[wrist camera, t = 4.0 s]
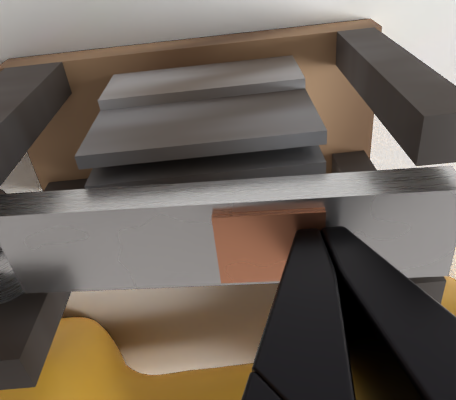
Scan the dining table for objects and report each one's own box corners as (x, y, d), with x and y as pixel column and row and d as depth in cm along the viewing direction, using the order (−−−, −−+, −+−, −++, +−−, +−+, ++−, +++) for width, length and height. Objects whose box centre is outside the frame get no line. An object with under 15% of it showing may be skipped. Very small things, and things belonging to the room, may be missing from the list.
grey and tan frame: (370, 18, 12) (541, 135, 6) (359, 159, 15) (471, 349, 9) (8, 58, 13) (-202, 211, 6) (57, 190, 15) (-57, 395, 9)
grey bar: (445, 157, 8) (477, 198, 7) (429, 240, 9) (454, 287, 8) (-45, 189, 9) (-89, 231, 8) (-8, 260, 10) (-40, 305, 9)
